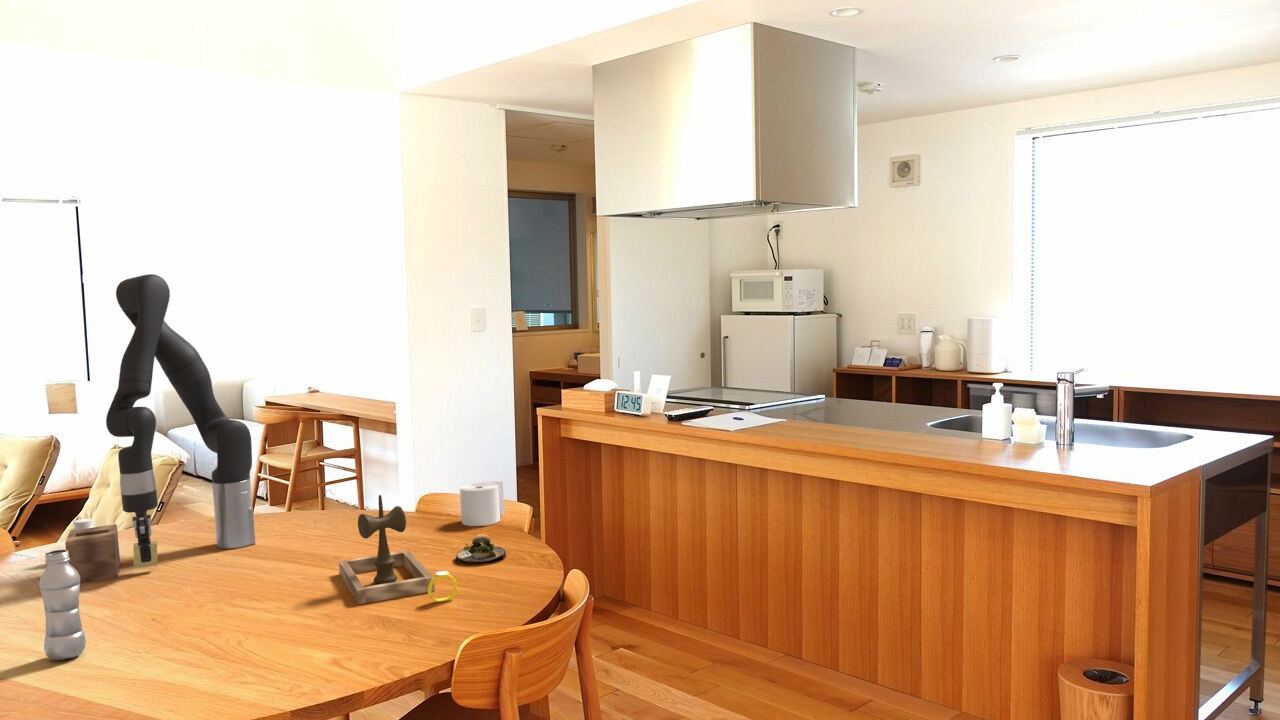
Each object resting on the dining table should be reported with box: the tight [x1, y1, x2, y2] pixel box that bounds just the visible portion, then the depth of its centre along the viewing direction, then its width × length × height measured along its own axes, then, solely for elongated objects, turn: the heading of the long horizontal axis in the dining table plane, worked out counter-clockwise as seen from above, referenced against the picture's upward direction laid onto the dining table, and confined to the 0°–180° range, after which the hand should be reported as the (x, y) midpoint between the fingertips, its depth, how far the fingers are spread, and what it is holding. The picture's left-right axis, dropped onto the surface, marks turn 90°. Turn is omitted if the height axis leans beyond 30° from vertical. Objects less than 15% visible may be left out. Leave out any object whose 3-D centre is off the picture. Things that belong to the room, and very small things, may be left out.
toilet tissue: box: [459, 481, 505, 527], centre depth 269 cm, size 11×12×10 cm
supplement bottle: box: [72, 518, 96, 530], centre depth 246 cm, size 6×6×10 cm
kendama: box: [357, 494, 407, 585], centre depth 216 cm, size 6×10×20 cm, turn 129°
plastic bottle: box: [38, 548, 87, 661], centre depth 178 cm, size 6×7×20 cm
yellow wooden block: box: [132, 540, 158, 569], centre depth 232 cm, size 5×2×6 cm, turn 117°
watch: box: [427, 570, 458, 603], centre depth 202 cm, size 6×3×6 cm, turn 121°
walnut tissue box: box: [64, 524, 121, 584], centre depth 233 cm, size 10×13×10 cm
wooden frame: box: [338, 550, 436, 605], centre depth 217 cm, size 16×25×3 cm, turn 26°
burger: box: [455, 533, 507, 563], centre depth 232 cm, size 12×12×8 cm
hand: (146, 560), depth 232 cm, fingers closed on yellow wooden block, 2 cm apart
